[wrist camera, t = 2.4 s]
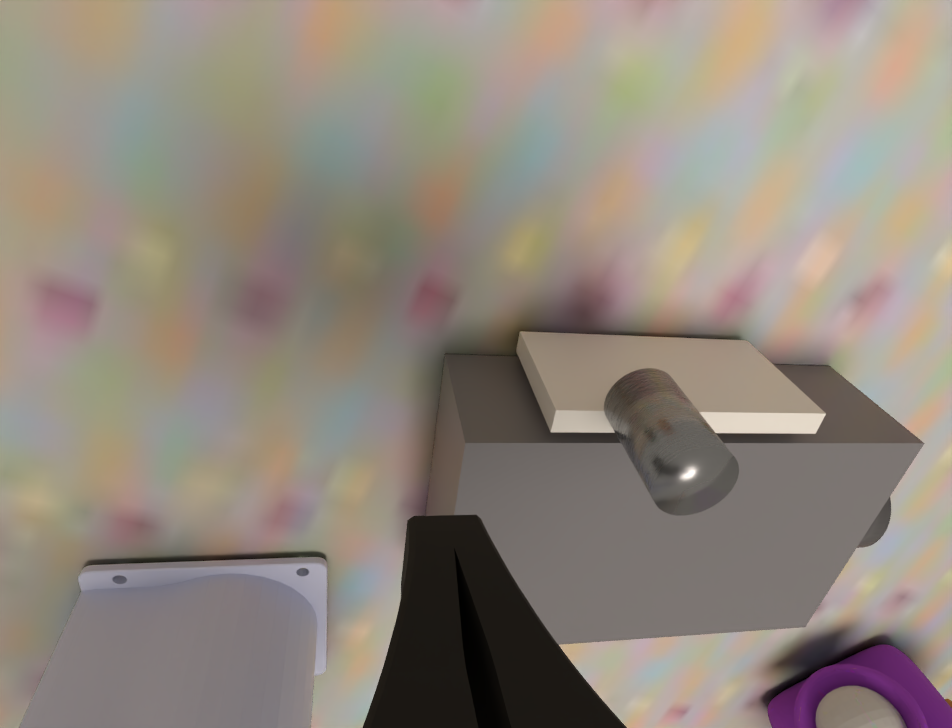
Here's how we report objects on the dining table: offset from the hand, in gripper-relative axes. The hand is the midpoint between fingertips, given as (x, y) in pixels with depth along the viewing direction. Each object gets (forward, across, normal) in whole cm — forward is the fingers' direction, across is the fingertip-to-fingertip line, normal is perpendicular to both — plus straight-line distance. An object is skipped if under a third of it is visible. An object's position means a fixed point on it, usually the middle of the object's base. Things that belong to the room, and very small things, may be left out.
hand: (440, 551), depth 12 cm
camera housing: (+10, -10, +7) cm, 15 cm away
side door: (+10, -8, 0) cm, 13 cm away
